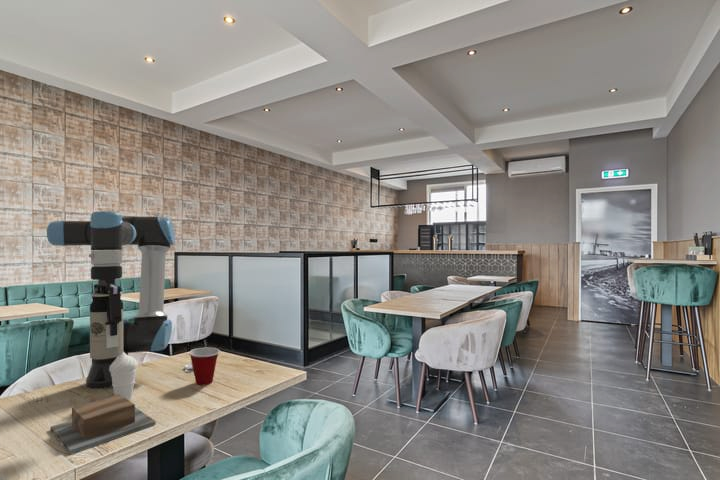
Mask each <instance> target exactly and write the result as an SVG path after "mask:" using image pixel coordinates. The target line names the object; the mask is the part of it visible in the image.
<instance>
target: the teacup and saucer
mask: <svg viewBox="0 0 720 480" xmlns="http://www.w3.org/2000/svg"><path fill="white" fill-rule="evenodd" d="M190 363H191V364H190ZM190 363H189V364H185V365H184V366H183V368H184V372H185V373H190V374H192V373H193V374H194V371H193V365H192V361H191V360H190ZM190 370H192V371H190Z"/></svg>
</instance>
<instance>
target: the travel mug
mask: <svg viewBox="0 0 720 480" xmlns="http://www.w3.org/2000/svg"><path fill="white" fill-rule="evenodd" d="M122 294H123V292H122V291H120V301H121V315H122V321H121V322H119V323H118V346H117V347H112V348H106V325H105V323H106V322H108V320H107V305H106V301H105V300H104V298H105V299H107V300H109V294H101V293H99V294H98V293H94V292H93V293H91V294H90V297H91V299H92V302H91V304H90V305H89V358H90V359H91V360H92V359H97V360H100V359H109V358H114V357H117V356H120V355H121V354H123V318H124V302H123V300H122V299H121V296H122Z"/></svg>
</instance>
